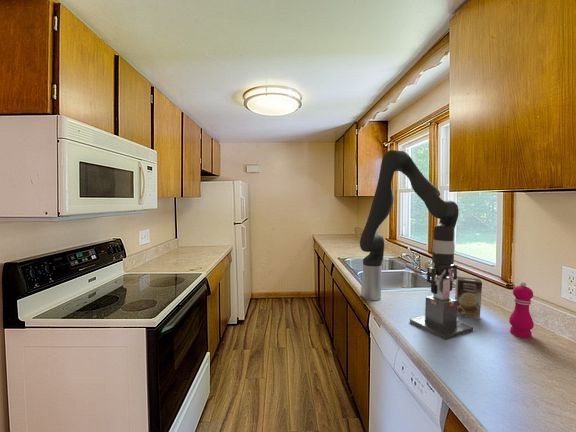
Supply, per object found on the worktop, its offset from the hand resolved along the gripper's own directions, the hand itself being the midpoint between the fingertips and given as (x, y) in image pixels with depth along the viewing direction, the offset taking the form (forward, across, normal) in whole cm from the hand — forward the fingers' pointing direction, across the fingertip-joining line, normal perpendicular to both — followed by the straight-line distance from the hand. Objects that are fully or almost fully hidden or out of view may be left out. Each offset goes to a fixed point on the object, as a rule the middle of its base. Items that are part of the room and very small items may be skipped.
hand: (441, 291), depth 114 cm
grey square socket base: (+14, 0, 0) cm, 14 cm away
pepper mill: (+14, -22, +17) cm, 31 cm away
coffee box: (+14, -21, -3) cm, 26 cm away
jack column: (+12, 0, 0) cm, 12 cm away
